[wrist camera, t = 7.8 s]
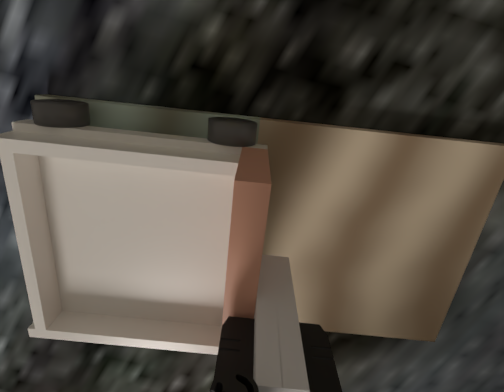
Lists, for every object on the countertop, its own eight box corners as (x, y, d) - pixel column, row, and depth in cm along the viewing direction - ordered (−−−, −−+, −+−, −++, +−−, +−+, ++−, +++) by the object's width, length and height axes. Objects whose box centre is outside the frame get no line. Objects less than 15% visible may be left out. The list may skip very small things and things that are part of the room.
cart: (269, 121, 16) (275, 153, 9) (244, 326, 21) (237, 442, 15) (39, 96, 16) (-120, 111, 9) (70, 309, 21) (-18, 418, 14)
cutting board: (503, 143, 18) (517, 147, 17) (427, 330, 23) (434, 341, 22) (46, 94, 17) (34, 95, 16) (74, 296, 22) (66, 305, 21)
